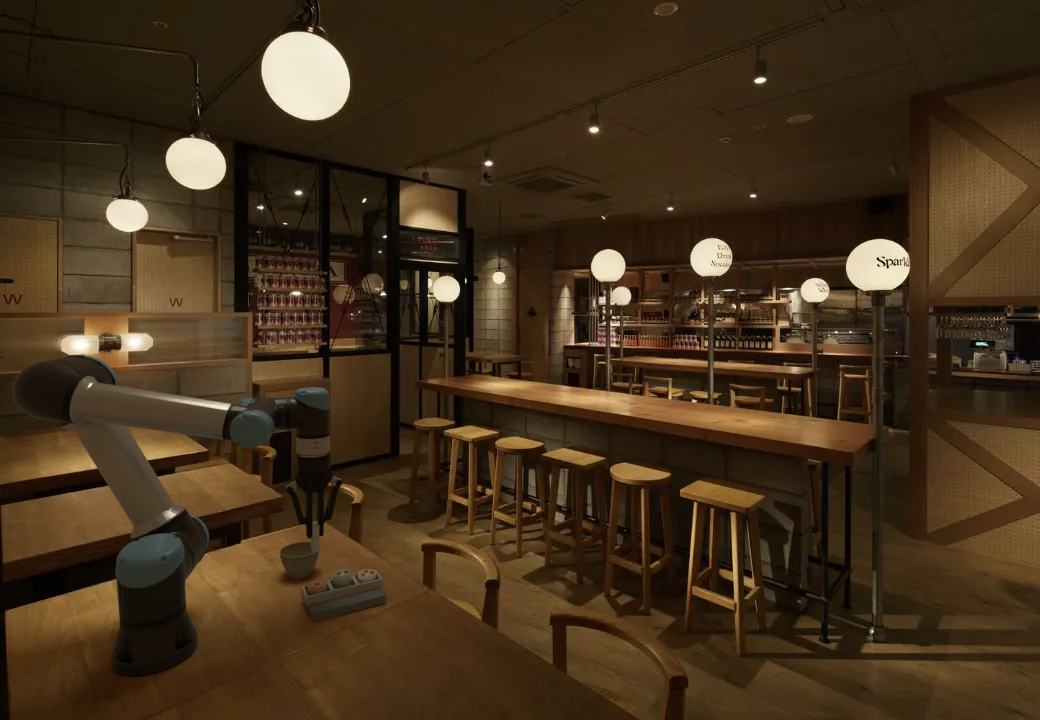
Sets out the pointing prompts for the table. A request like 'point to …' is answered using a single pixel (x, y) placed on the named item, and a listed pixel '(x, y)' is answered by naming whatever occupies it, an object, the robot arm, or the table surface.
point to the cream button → (366, 575)
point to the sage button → (342, 577)
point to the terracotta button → (317, 587)
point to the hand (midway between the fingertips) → (315, 549)
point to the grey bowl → (298, 559)
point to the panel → (344, 598)
